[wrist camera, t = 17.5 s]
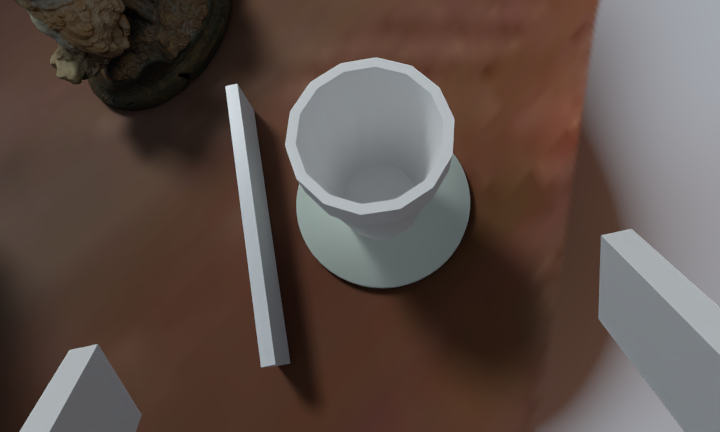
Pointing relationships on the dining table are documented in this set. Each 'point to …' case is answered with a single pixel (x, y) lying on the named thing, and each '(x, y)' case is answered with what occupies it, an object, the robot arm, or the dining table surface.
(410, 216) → the foam cup
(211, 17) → the owl figurine
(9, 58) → the dining table surface
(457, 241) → the resting disc
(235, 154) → the acrylic wall
